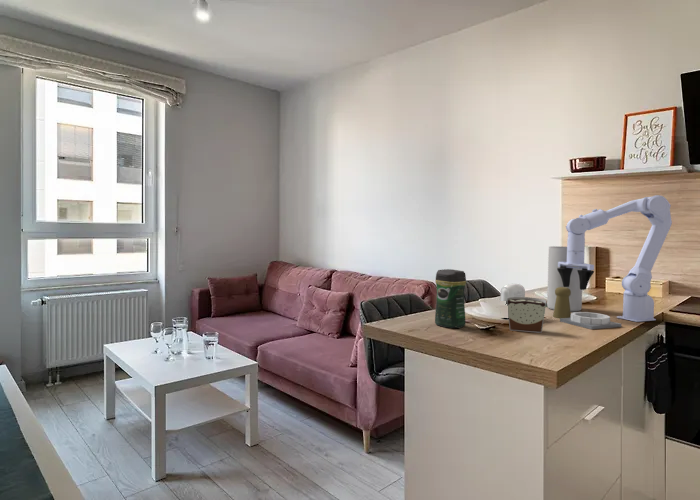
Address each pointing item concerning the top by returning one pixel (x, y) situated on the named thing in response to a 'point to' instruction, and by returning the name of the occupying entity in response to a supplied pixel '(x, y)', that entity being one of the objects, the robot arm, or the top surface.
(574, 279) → the cylinder vase
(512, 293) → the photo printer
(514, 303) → the food container
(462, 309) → the coffee jar
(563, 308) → the cork
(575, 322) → the socket holder
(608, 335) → the top surface
